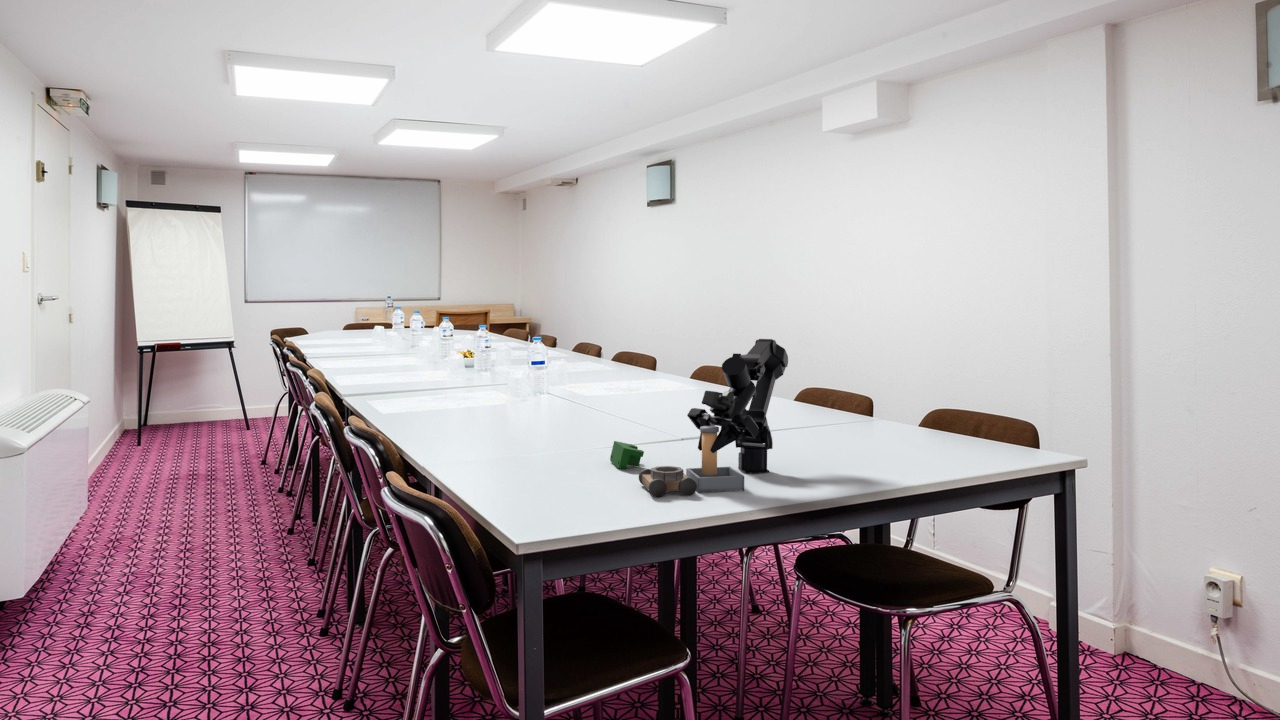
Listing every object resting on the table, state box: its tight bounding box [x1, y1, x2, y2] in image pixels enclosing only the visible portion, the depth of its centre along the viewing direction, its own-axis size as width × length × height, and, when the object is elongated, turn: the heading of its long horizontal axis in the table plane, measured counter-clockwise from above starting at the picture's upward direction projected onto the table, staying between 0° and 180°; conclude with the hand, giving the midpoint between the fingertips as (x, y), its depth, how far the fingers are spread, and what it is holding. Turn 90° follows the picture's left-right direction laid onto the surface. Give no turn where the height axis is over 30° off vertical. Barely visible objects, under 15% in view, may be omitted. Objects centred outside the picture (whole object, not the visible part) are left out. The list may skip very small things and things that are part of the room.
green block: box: [609, 440, 645, 470], centre depth 221 cm, size 12×6×9 cm, turn 8°
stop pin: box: [699, 425, 720, 475], centre depth 194 cm, size 4×4×11 cm
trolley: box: [638, 465, 697, 498], centre depth 192 cm, size 11×12×5 cm
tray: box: [685, 466, 745, 494], centre depth 196 cm, size 11×11×4 cm
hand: (705, 450), depth 193 cm, fingers open, 4 cm apart
